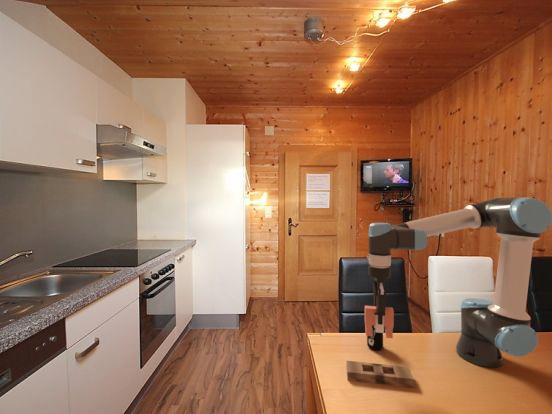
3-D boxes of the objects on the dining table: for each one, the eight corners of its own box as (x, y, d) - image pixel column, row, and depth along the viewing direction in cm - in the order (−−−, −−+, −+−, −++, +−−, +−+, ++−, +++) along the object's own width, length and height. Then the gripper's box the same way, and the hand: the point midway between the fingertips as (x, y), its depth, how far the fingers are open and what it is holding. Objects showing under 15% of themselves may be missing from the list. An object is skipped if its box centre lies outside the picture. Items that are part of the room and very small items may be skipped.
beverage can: (384, 352, 114) (384, 324, 114) (368, 350, 116) (368, 322, 116) (381, 344, 121) (381, 317, 121) (366, 342, 122) (366, 316, 122)
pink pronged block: (392, 334, 99) (392, 307, 98) (393, 338, 96) (393, 310, 96) (364, 332, 101) (364, 305, 101) (365, 335, 98) (365, 308, 98)
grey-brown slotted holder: (408, 374, 99) (408, 366, 99) (414, 387, 93) (413, 379, 92) (346, 368, 104) (346, 360, 104) (347, 380, 97) (347, 371, 97)
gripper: (366, 260, 106) (365, 319, 107) (371, 270, 91) (370, 339, 92) (386, 261, 105) (385, 321, 105) (395, 271, 89) (394, 342, 90)
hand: (378, 329), depth 98 cm, fingers closed on pink pronged block, 3 cm apart
